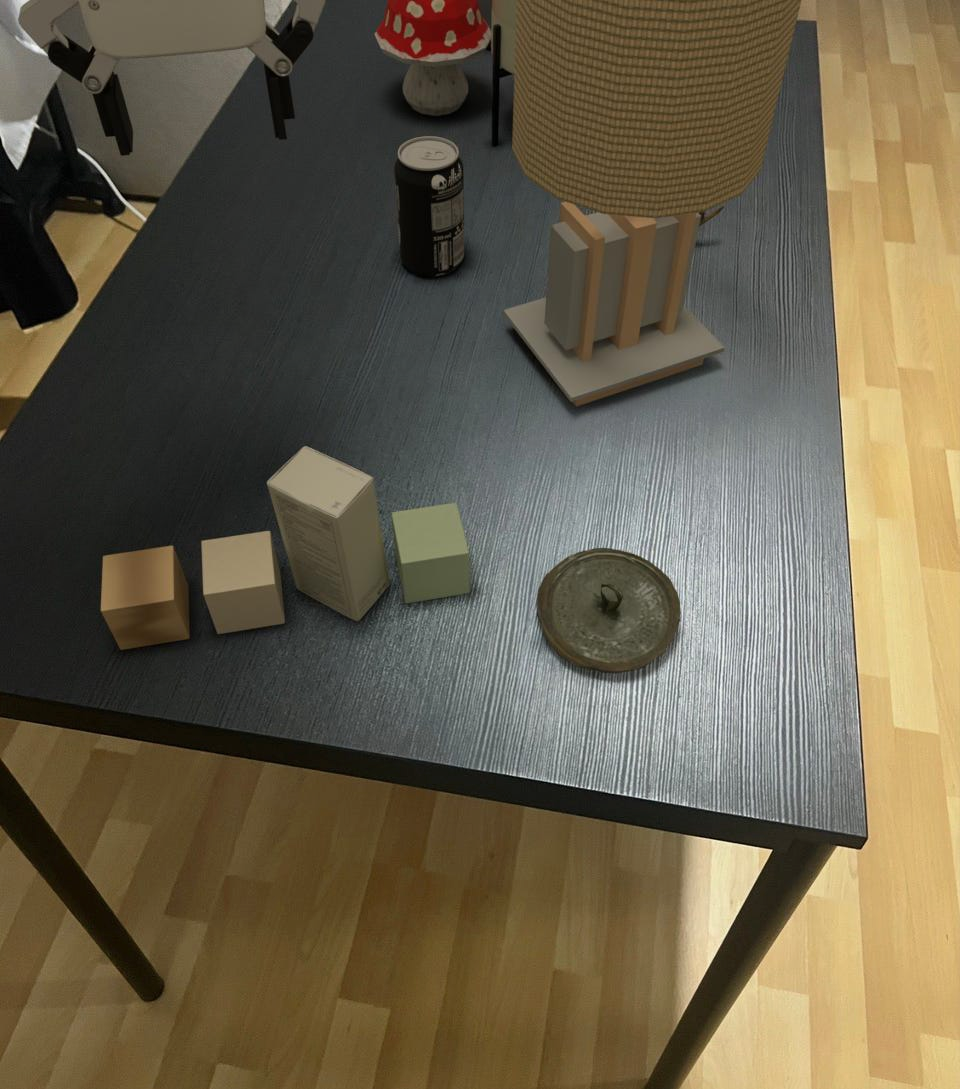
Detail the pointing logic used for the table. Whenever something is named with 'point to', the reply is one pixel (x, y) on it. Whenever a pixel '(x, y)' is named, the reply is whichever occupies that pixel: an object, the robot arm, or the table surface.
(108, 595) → the block
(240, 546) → the block
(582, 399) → the desk lamp
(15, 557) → the table surface
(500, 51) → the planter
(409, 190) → the beverage can
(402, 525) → the block
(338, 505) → the cosmetic box
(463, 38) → the decorative mushroom
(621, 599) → the lid
